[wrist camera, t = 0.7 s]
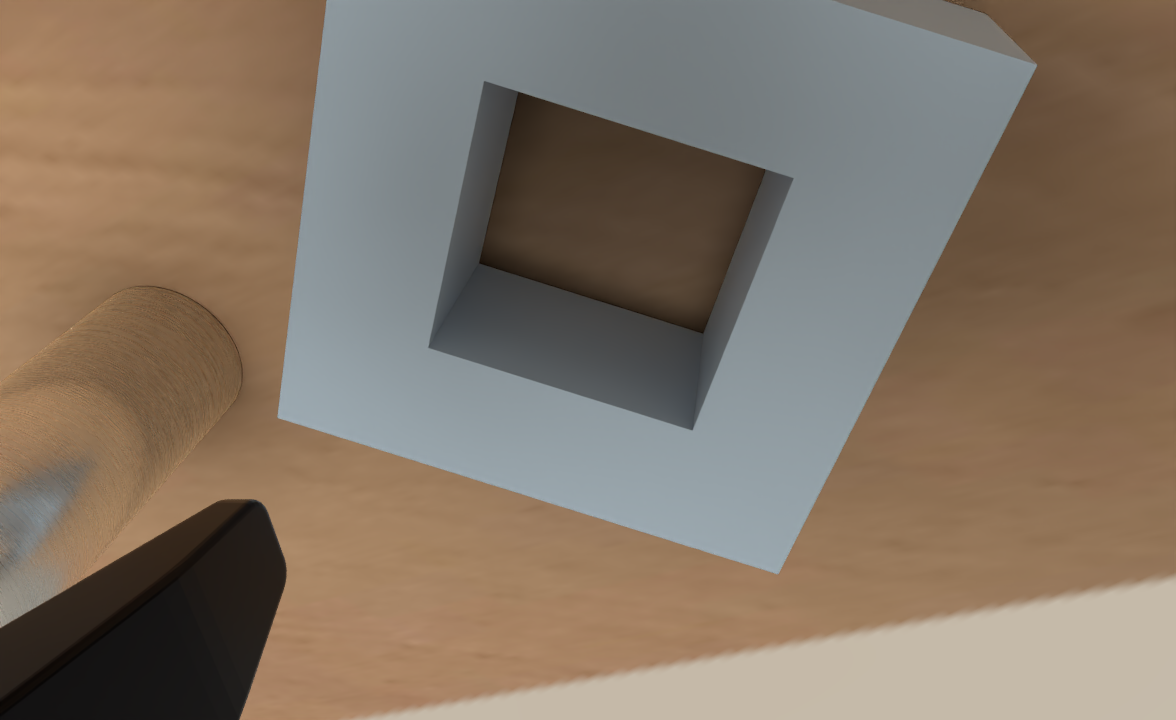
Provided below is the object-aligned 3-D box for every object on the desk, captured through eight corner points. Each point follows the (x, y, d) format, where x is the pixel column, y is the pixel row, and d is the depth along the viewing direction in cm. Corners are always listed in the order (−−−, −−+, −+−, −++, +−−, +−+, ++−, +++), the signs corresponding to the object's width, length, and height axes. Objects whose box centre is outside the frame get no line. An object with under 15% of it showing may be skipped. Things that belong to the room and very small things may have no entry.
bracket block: (986, 14, 18) (1037, 65, 15) (775, 462, 24) (778, 574, 21) (423, -164, 18) (344, -153, 15) (346, 328, 24) (277, 417, 21)
